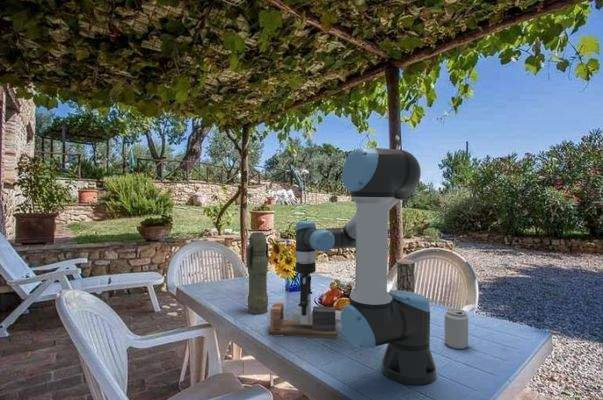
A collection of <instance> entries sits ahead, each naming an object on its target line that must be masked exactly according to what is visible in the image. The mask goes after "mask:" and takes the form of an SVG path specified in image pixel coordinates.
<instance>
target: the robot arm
mask: <svg viewBox="0 0 603 400" xmlns="http://www.w3.org/2000/svg"><path fill="white" fill-rule="evenodd" d="M343 163H344V164H343V168H342V174H341V175H342V178H341V179H342V183H343V186H344V188H345V189H346V190H348V191H349V192H350V199H352V200H353V202H354V203H355V204H356V207H355V209H356V211H355V214H354V215H353V216H352V217H351V218H350V220H348V222H347V223H346V224H345V225H344V226H342V227H332V228H331V227H329V228H327V227H326V228H318V227H317V226H316V222H315V221H312V220H311V221H310V220H300V221H297V222H296V224H295V231H294V232H295V252H294V253H293V254H294V256H295V260H296V263H295V272H296V273H297V274H301V276H300V279H299V281H300V286H299V287H300V295H299V296H300V299H299V300H300V301H299V303H298V304H297V305H298V307H300V310H299V311H300V324H308V300H310V311H312V304H311V303H312V302H311V301H312V300H311V299H312V297H311V296H312V295H313V291H312V287H311V283H312V276H311V274H313V273H315V272H316V267H317V266H316V261H317V260H316V259H317V257H316V255H317V252H324V253H326V252H329V251H330V250H336V249H347V248H348V249H349V248H351V249H352V248H353V249H354V248H355V274H354V276H355V278H354V279H355V281H354V282H355V283H354V285H355V286H354V290H352V292H351V293H350V294H349V302H348V303H349V304H346V305H344V306H343V307H342V309H341V312H340V322H341V323H340V324H341V327H342V331H343V333H344V335H345V337H346V338H347V340H348V341H349V343H350V344H351V345H352V346H353V347H355V348H357V349H360V350H364V349H373V348H375V347H379V346H384V345H386V348H385V352H384V354H383V357H382V362H381V366H382V367H381V369H382V372H383V373H384V375H386V377H387V378H389V379H391V380H393V381H395V382H397V383H400V384H405V385H411V386H414V385H415V386H422V385H427V384H431V383H432V382H434V381H435V379H437V378H436V377H437V367H436V364H435V361H434V357H433V354H432V351H431V348H430V346H431V345H430V343H431V342H430V340H431V339H430V337H431V336H430V335H431V333H430V332H431V309H430V307H431V306H430V301H429V299H428V298H427V296H424V295H422V294H420V293H417V292H414V293H413V292H408V291H401V290H397V289H394V290H393V289H392V290H390V291H388V256H389V255H388V251H389V250H388V247H389V246H388V242H389V240H388V239H389V237H388V236H389V212H390V210H391V209H392V208H394V207H395V206H396V204H398V202H400V201H403V200H405V199H407V198H408V197H409V196H410V195H411V194H412V193H413V192H414V191H415V189H416V188H417V186H418V184H419V183H420V179H421V173H422V172H421V167H420V166H421V165H420V163H419V160H418V159H417V158H416V157H415V155H413V154H412V153H410V152H409V151H408V150H404V149H397V148H396V149H395V148H394V149H390V148H380V147H370V146H369V147H358V148H356V149H354V150H352V151H351V152H350V153H349V155H348V156H347V158H346V159H345V161H344V162H343ZM302 302H305V303H302Z"/></svg>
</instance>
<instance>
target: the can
mask: <svg viewBox="0 0 603 400" xmlns="http://www.w3.org/2000/svg"><path fill="white" fill-rule="evenodd" d="M444 343H445V344H446V345H447V346H448V347H449V348H451V349H454V350H455V349H456V350H464V349H465V348H467V347H468V346H469V316H468V315H467V312H466V311H465V310H464V309H459V308H448V309H446V312H445V313H444Z"/></svg>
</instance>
